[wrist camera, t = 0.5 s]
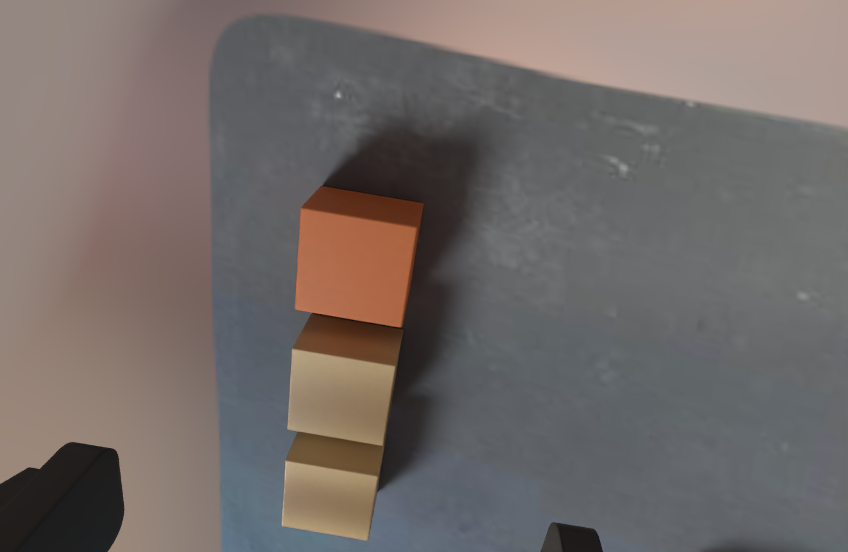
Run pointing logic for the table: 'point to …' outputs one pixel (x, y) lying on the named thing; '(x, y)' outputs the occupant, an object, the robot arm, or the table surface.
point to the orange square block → (357, 255)
